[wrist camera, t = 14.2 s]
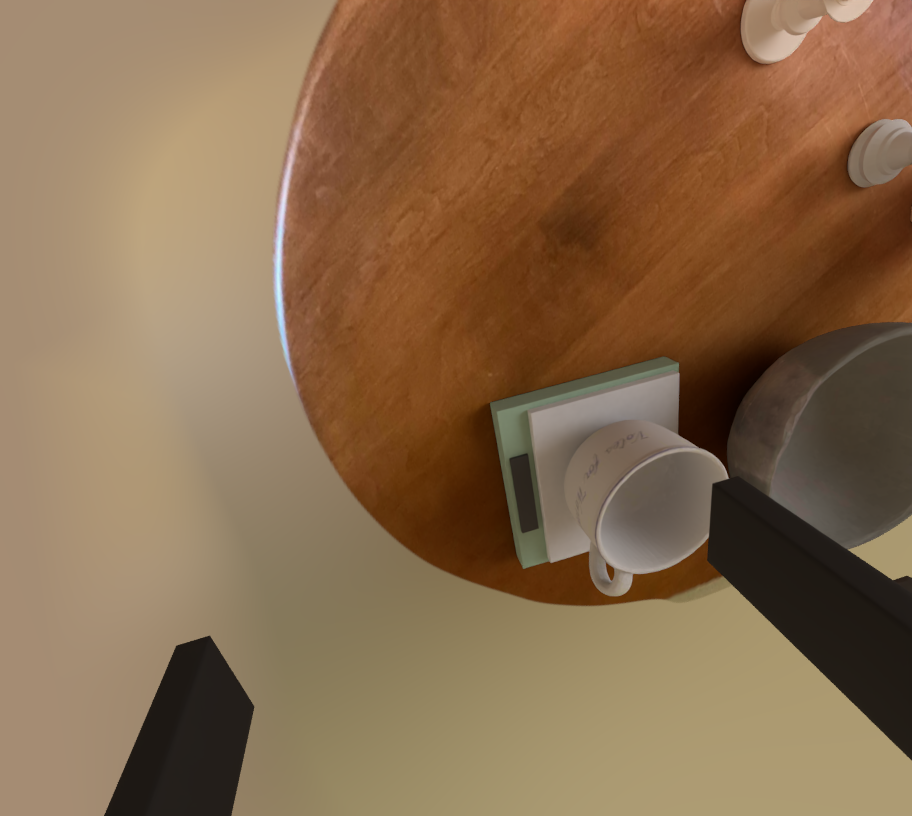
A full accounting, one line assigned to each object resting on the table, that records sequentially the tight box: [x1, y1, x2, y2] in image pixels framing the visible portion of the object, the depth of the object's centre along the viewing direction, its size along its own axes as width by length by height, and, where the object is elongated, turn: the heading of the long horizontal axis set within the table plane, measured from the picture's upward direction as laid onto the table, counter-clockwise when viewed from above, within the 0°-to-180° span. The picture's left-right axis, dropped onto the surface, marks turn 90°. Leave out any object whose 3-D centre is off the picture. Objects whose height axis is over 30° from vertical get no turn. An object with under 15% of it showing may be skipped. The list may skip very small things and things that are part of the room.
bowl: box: [727, 322, 912, 549], centre depth 39 cm, size 20×20×10 cm
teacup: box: [564, 420, 729, 596], centre depth 35 cm, size 14×11×8 cm
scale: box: [490, 357, 679, 569], centre depth 40 cm, size 16×17×3 cm
